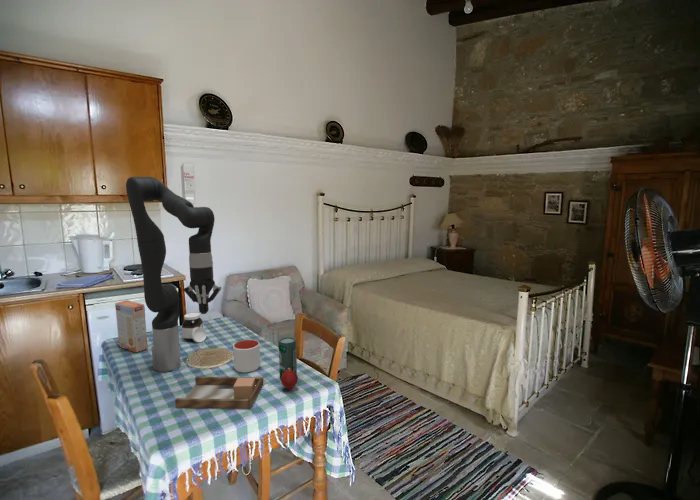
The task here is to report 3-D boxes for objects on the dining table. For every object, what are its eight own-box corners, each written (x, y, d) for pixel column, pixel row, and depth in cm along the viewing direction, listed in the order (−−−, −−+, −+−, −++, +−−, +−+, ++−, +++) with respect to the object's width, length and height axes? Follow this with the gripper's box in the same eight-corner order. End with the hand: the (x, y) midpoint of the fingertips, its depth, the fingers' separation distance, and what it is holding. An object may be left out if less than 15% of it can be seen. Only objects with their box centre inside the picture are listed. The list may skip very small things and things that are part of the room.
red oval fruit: (282, 385, 139) (281, 364, 138) (298, 384, 139) (297, 363, 138) (280, 393, 133) (280, 371, 132) (297, 392, 134) (296, 371, 133)
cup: (253, 375, 147) (252, 350, 146) (229, 372, 149) (228, 348, 148) (264, 363, 157) (263, 340, 155) (241, 361, 159) (240, 338, 157)
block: (234, 399, 129) (233, 386, 129) (238, 390, 135) (237, 377, 135) (252, 398, 130) (251, 385, 129) (255, 389, 136) (255, 377, 135)
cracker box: (148, 349, 172) (145, 304, 169) (135, 353, 167) (131, 307, 164) (131, 342, 180) (128, 299, 177) (118, 347, 175) (114, 302, 172)
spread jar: (191, 334, 190) (190, 311, 189) (213, 335, 189) (211, 312, 187) (177, 343, 179) (175, 319, 177) (200, 344, 177) (198, 320, 175)
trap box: (175, 408, 124) (175, 399, 124) (196, 384, 140) (196, 376, 140) (250, 409, 123) (250, 401, 123) (263, 385, 139) (263, 377, 139)
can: (282, 374, 147) (280, 337, 145) (297, 374, 147) (296, 337, 145) (278, 382, 141) (277, 343, 139) (295, 382, 141) (294, 343, 139)
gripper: (177, 267, 130) (180, 316, 132) (215, 267, 129) (218, 316, 132) (187, 263, 137) (190, 310, 139) (223, 263, 136) (226, 310, 139)
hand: (204, 313), depth 135 cm, fingers closed
